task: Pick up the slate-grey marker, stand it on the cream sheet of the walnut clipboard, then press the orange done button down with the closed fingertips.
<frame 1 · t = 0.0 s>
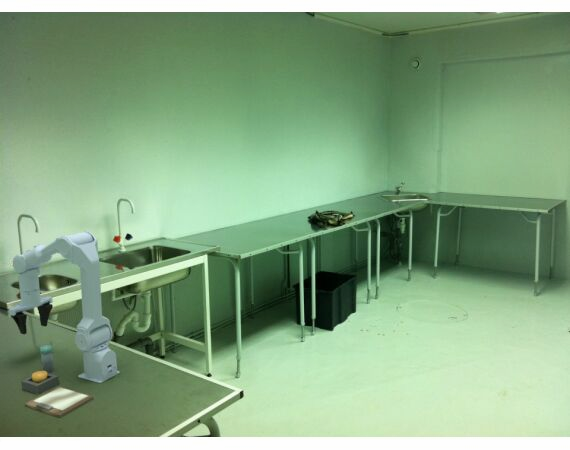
hand: (34, 329, 171), 10 cm above the table, fingers open, 7 cm apart
marker: (48, 371, 163), on the table
done button: (39, 377, 152), point 3 cm above the table, slide at 0.0 cm
clipboard: (59, 402, 143), on the table
button base: (40, 386, 152), on the table
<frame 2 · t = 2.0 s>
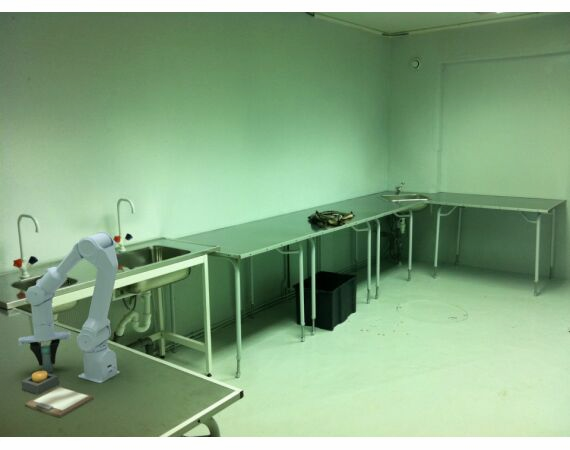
hand: (47, 363, 162), 2 cm above the table, fingers closed on marker, 3 cm apart
marker: (48, 371, 163), on the table, touching gripper
everything else where it was.
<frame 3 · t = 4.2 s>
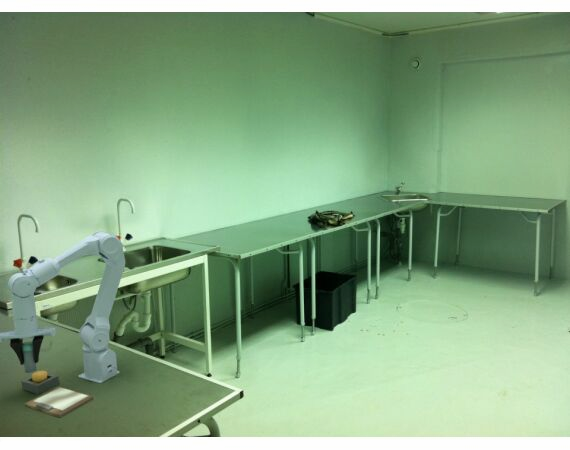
hand: (29, 362, 147), 9 cm above the table, fingers closed on marker, 3 cm apart
marker: (30, 370, 147), point 7 cm above the table, touching gripper
everything else where it was.
when the fingers open (4 cm above the table, at t = 6.5 s): marker stays where it is, resting on clipboard.
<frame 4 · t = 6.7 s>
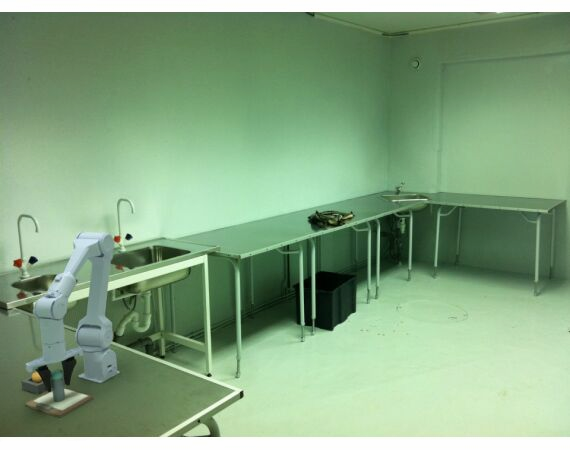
hand: (58, 387, 142), 4 cm above the table, fingers open, 4 cm apart
marker: (59, 399, 143), point 1 cm above the table, touching clipboard
everything else where it was.
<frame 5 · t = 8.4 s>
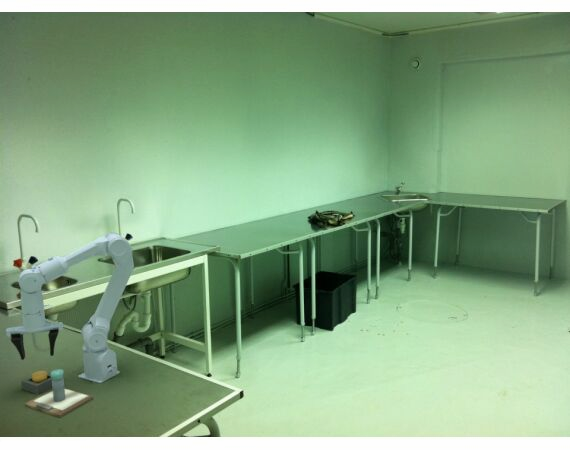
hand: (37, 356, 151), 9 cm above the table, fingers open, 7 cm apart
nothing on the table moved.
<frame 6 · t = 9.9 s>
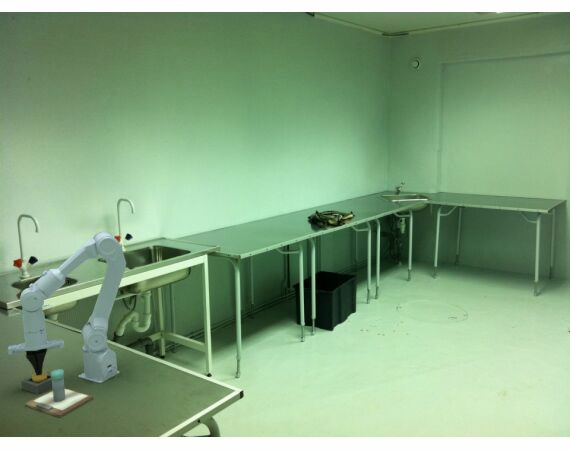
hand: (39, 373, 152), 4 cm above the table, fingers closed, pressing on done button
done button: (39, 377, 152), point 3 cm above the table, slide at 0.0 cm, touching gripper
everything else where it was.
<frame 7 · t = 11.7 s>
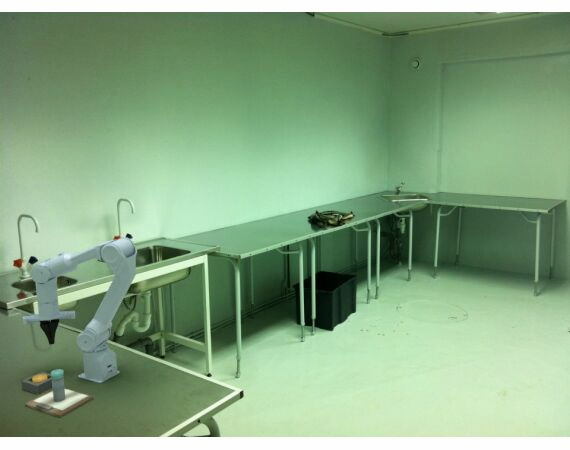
hand: (51, 343, 160), 9 cm above the table, fingers closed
done button: (40, 380, 152), point 2 cm above the table, slide at 1.0 cm
everything else where it was.
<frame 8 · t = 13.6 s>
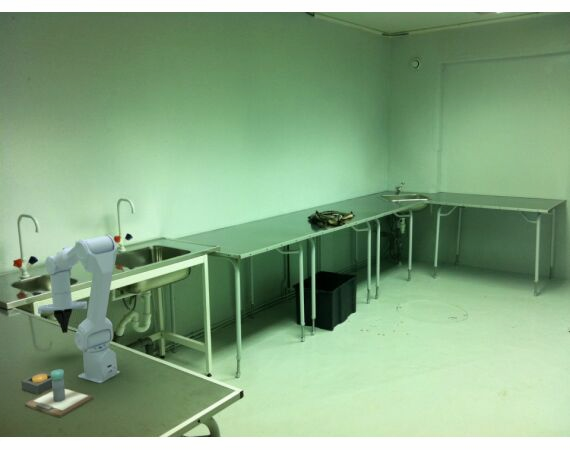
hand: (65, 331, 170), 9 cm above the table, fingers closed
nothing on the table moved.
at the end: marker inside the target area on the clipboard (0.1 cm from its centre), point 0.9 cm above the clipboard's base; marker tilted 1°; done button slide at 1.0 cm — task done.
